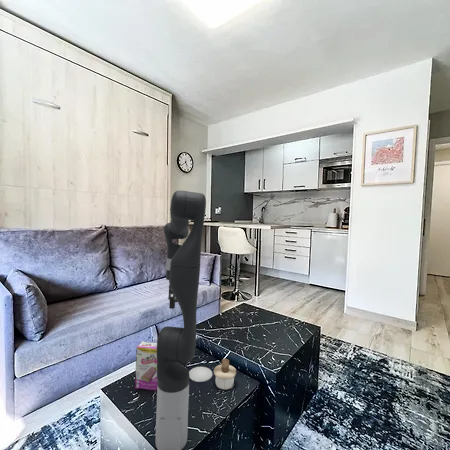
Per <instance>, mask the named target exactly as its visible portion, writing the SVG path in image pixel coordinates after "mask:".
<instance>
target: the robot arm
mask: <svg viewBox="0 0 450 450" xmlns="http://www.w3.org/2000/svg"><path fill="white" fill-rule="evenodd" d="M206 207H207V200H206V195H205V194H204V193H201V192H196V191H195V192H194V191H189V190H188V191H187V190H176V191H174V193H173V194H172V196H171V200H170V207H169V208H170V209H169V211H170V222H167V223H166V224H165V225H164V227H163V233H164V237H165V240H166V241H165V242H166V245H167V246H166V247H167V251H166V253H167V254H166V255H167V256H166V257H167V258H166V266H165V267H166V268H165V280H167V281H168V282H169V283H168V297H167V299H168V301H169V305H168V309H171V310H175V308H176V303H177V304H178V305H179V309H180V311H181V314H182V320H183V327H181V326H180V327H179V326H177V327H176V326H164V327H162V328H161V330H160V331H159V333H158V336H157V340H156V343H157V380H158V385H157V391H156V413H155V415H156V416H155V417H156V418H155V447H156V449H157V450H182V449H184V448H185V446H186V445H187V442H188V428H189V427H188V425H189V424H188V423H189V422H188V421H189V418H188V417H189V396H190V394H189V393H190V378H189V372H190V370H188V368H187V367H186V366H185V365H183V364H189V363H191V362H192V361H193V359H194V357H195V352H196V345H197V308H198V307H197V305H198V295H199V294H198V293H199V283H200V274H201V259H202V257H201V256H202V253H201V252H202V238H203V232H204V231H203V230H204V223H205V216H206ZM190 221H192V222H193V225H192V227H191V230H190V232H189V224H190ZM173 240H184V241H183V243H182V244H178V243H175V242H173ZM181 363H182V364H181Z"/></svg>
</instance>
